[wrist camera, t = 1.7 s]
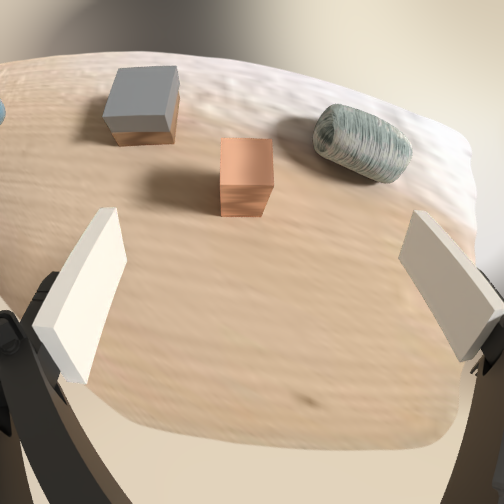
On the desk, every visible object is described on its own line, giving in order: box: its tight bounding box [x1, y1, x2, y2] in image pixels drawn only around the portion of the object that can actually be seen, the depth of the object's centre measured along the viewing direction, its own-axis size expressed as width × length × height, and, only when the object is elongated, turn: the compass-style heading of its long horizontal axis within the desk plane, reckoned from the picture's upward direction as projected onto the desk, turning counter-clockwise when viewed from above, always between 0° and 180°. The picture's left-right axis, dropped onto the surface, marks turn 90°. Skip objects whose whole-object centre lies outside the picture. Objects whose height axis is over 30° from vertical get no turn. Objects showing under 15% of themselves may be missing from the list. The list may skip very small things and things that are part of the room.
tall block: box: [220, 138, 274, 217], centre depth 35 cm, size 5×5×11 cm
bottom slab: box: [112, 91, 180, 147], centre depth 40 cm, size 8×8×4 cm
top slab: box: [102, 66, 180, 133], centre depth 36 cm, size 8×8×4 cm
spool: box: [313, 104, 413, 183], centre depth 39 cm, size 14×10×10 cm
